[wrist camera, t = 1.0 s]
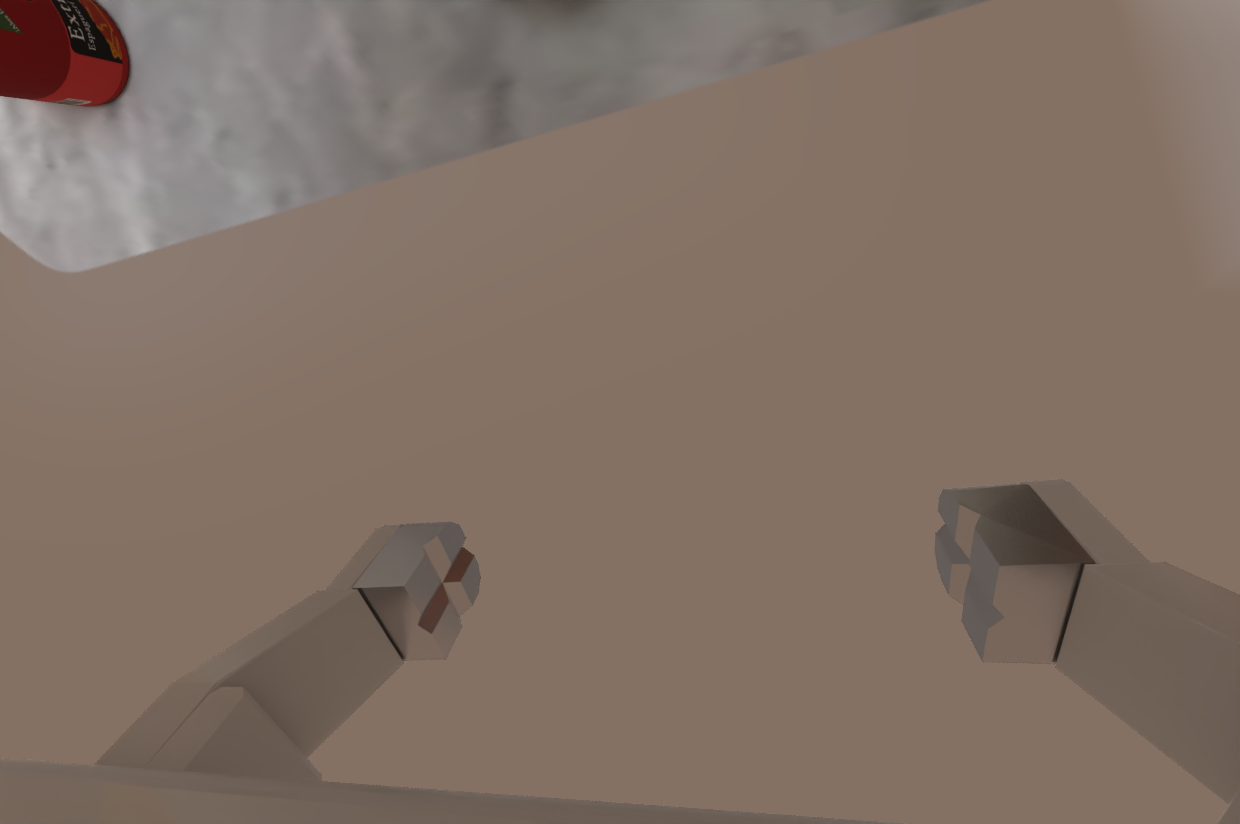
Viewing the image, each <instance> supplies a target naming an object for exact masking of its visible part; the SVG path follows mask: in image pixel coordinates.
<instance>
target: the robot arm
mask: <svg viewBox="0 0 1240 824" xmlns="http://www.w3.org/2000/svg"><path fill="white" fill-rule="evenodd" d="M938 512H939V514H940V515H941V517H942V519H943V520H944V522H945V524H944V525H943V526H942V527H941V528H940V529H939V530H938V531H937V532H936V533H935V556H936V562H937V568H938V571H939V574H940V577H941V580H942V582H943V585H944V587H945V589H946V591H947V593H948V594H949V596H951V597H952V598H953V599H955V600H956V601H958V602H959V603H961V604H962V605H963V612H962V623H963V625H964V627H965V629H966V631H967V633H968V635H969V637H970V638H971V641H972V643H973V645H974V646H975V648H976V650H977V652H978V654H979V656H980V658H981V660H982V662H997V663H1001V662H1002V663H1031V664H1056V666H1055V668H1057V669H1058V670H1059V671H1060V672H1062V673H1063V674H1064V675H1066V676H1067V677H1068V678H1069V679H1071V680H1072V681H1073V682H1074V683H1076V684H1077V685H1078V686H1080V687H1081V688H1082V689H1083V690H1084V691H1086V692H1087V693H1088V694H1089V695H1091V696H1092V697H1093V698H1095V699H1096V700H1097V701H1098V702H1100V703H1101V704H1102V705H1103V706H1105V707H1106V708H1107V709H1109V710H1110V711H1111V712H1112V713H1114V714H1115V715H1116V716H1118V717H1119V718H1120V719H1121V720H1122V721H1124V722H1125V723H1126V724H1128V725H1129V726H1130V727H1132V729H1134V730H1135V731H1137V732H1138V733H1139V734H1140V735H1141V736H1143V737H1144V738H1145V739H1146V740H1148V741H1149V742H1150V743H1151V744H1153V745H1154V746H1155V747H1157V748H1158V749H1159V750H1160V751H1162V752H1163V753H1164V754H1165V755H1167V756H1168V757H1169V758H1170V759H1172V760H1173V761H1174V762H1176V763H1177V764H1178V765H1179V766H1181V767H1182V768H1183V769H1184V770H1186V771H1187V772H1188V773H1189V774H1191V775H1192V776H1193V777H1195V778H1196V779H1197V780H1198V781H1199V782H1201V783H1202V784H1203V785H1205V786H1206V787H1207V788H1208V789H1210V790H1211V791H1212V792H1213V793H1215V794H1216V795H1217V796H1219V797H1220V798H1221V799H1222V800H1224V801H1225V802H1226V803H1227V804H1228V805H1227V807H1226V808H1225V810H1224V811H1223V813H1222V814H1221V816H1220V817H1219V819H1218V821H1217V822H1216V824H1240V595H1239V594H1237V593H1235V592H1232V591H1230V590H1228V589H1226V588H1223V587H1221V586H1219V585H1217V584H1214V583H1212V582H1210V581H1207V580H1205V579H1203V578H1201V577H1198V576H1196V575H1194V574H1192V573H1189V572H1187V571H1185V570H1183V569H1180V568H1178V567H1176V566H1173V565H1171V564H1169V563H1167V562H1155V563H1154V562H1150V561H1149V560H1148V559H1147V558H1146V557H1145V556H1144V555H1143V554H1142V553H1141V552H1140V551H1139V550H1138V549H1137V548H1136V547H1135V546H1134V545H1133V544H1132V543H1131V542H1130V541H1129V540H1128V539H1127V538H1126V537H1125V536H1124V535H1123V534H1122V533H1121V532H1120V531H1119V530H1118V529H1117V528H1116V527H1115V526H1114V525H1113V524H1112V523H1111V522H1110V521H1109V520H1108V519H1107V518H1106V517H1104V515H1103V514H1102V513H1101V512H1100V511H1099V510H1098V509H1097V508H1096V507H1095V506H1094V505H1093V504H1092V503H1090V501H1089V500H1088V499H1087V498H1086V497H1085V496H1083V494H1082V493H1080V491H1078V489H1077V488H1075V486H1073V485H1072V484H1071V483H1070V482H1067V481H1065V480H1063V479H1058V480H1047V481H1034V482H1023V483H1020V484H1009V485H994V486H980V487H967V488H952V489H943V490H942V492H941V494H940V497H939V503H938ZM465 540H466V537H465V535H464V533H463V531H462V529H461V527H460V525H459V524H456V523H453V522H438V523H413V524H405V525H404V524H399V525H384V526H382V527H379V528H377V529H375V531H374V532H373V533H372V534H371V535H370V536H369V538H368V539H367V540H366V541H365V543H364V544H363V545H362V546H361V548H360V549H359V550H358V551H357V552H356V553H355V555H354V556H353V557H352V558H351V560H350V561H349V562H348V563H347V564H346V566H345V567H344V568H343V569H342V570H341V571H340V573H339V574H338V575H337V576H336V577H335V579H334V580H333V581H332V583H331V584H330V585H329V586H328V587H327V588H326V590H321V591H316V592H315V593H313V594H312V595H310V596H308V597H307V598H305V599H304V600H302V601H301V602H299V603H297V604H296V605H294V606H293V607H291V608H290V609H288V610H286V611H285V612H283V613H282V614H280V615H278V616H277V617H275V618H274V619H272V620H271V621H269V622H267V623H266V624H264V625H263V626H261V627H259V628H258V629H257V630H255V631H253V632H252V633H250V634H248V635H247V636H245V637H244V638H242V639H241V640H239V641H237V642H236V643H234V644H233V645H231V646H229V647H228V648H226V649H225V650H223V651H222V652H220V653H218V654H217V655H215V656H214V657H212V658H211V659H209V660H207V661H206V662H205V663H203V664H201V665H199V666H198V667H196V668H195V669H193V670H192V671H190V672H188V673H187V674H185V675H184V676H182V677H181V678H179V679H177V680H176V681H174V682H173V683H171V685H170V686H169V687H168V688H167V689H166V690H165V691H164V692H163V693H162V694H161V695H160V696H159V697H158V698H157V699H156V700H155V701H154V702H153V703H152V704H151V705H150V706H149V708H148V709H147V710H146V711H145V712H144V713H143V714H142V715H141V716H140V717H139V718H138V719H137V720H136V721H135V722H134V723H133V724H132V725H131V726H130V727H129V729H127V730H126V731H125V733H124V734H123V735H122V736H121V737H120V738H119V739H118V740H117V741H116V742H115V743H114V744H113V745H112V746H111V747H110V748H109V749H108V750H107V751H106V752H105V753H104V754H103V756H102V757H101V758H100V759H99V760H98V761H97V762H96V763H95V764H94V765H92V764H79V763H66V762H51V761H39V760H26V759H11V758H0V824H903V823H890V822H876V821H862V820H848V819H835V818H822V817H807V816H794V815H781V814H767V813H754V812H740V811H726V810H712V809H699V808H685V807H671V806H658V805H644V804H630V803H616V802H603V801H589V800H575V799H561V798H547V797H533V796H519V795H504V794H491V793H478V792H464V791H450V790H436V789H422V788H409V787H395V786H381V785H367V784H354V783H340V782H326V781H322V775H321V773H320V772H319V771H318V770H317V769H316V768H315V767H314V766H313V764H312V763H311V762H310V761H309V760H308V759H307V758H308V757H309V756H310V755H311V754H312V753H313V752H314V751H315V749H317V748H318V747H319V746H320V745H321V744H322V743H323V742H324V741H325V740H326V739H327V738H328V737H329V736H330V735H331V734H332V733H333V732H334V731H335V730H336V729H337V728H338V727H339V726H340V725H341V724H342V723H343V722H344V721H345V720H346V719H347V718H349V717H350V716H351V715H352V714H353V713H354V712H355V711H356V710H357V709H358V708H359V707H360V706H361V705H362V704H363V703H364V702H365V701H366V700H367V699H368V698H369V697H370V696H371V695H372V694H373V693H374V692H375V691H376V690H377V689H378V688H379V687H380V686H381V685H382V684H383V683H384V682H385V681H386V680H387V679H388V678H389V677H390V676H391V675H393V673H395V672H396V670H398V669H399V668H400V667H401V666H402V665H403V663H404V662H403V661H409V660H410V661H411V660H446V659H447V657H448V655H449V653H450V651H451V649H452V646H453V645H454V643H455V640H456V639H457V637H458V635H459V633H460V631H461V628H462V624H461V620H460V616H461V615H462V614H464V613H465V612H466V611H467V610H468V609H470V608H471V607H472V606H473V604H474V602H475V600H476V597H477V595H478V593H479V586H480V579H481V576H480V570H479V565H478V562H477V560H476V558H475V556H474V555H473V554H472V553H470V552H469V551H468V550H466V549H465V548H463V546H464V542H465Z"/></svg>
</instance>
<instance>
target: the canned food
mask: <svg viewBox="0 0 1240 824" xmlns="http://www.w3.org/2000/svg"><path fill="white" fill-rule="evenodd" d="M128 71H129V63H128V55H127V51H126V47H125V44H124V41H123V39H122V37H121V34H120V32H119V31H118V29H117V27H116V26H115V24H114V22H113V21H112V20H111V19H110V17H109V16H108V15H107V14H106V12H105V11H104V10H103V9H102V8H101V7H100V6H98V5H97V4H96V3H95V2H94V1H92V0H0V96H4V97H12V98H20V99H28V100H36V101H44V102H52V103H60V104H68V105H76V106H93V105H99V104H103V103H106V102H108V101H110V100H113V99H114V98H115V97H116V96H118V95H119V94H120V93H121V91H122V90H123V88H124V87H125V84H126V81H127V78H128Z"/></svg>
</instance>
